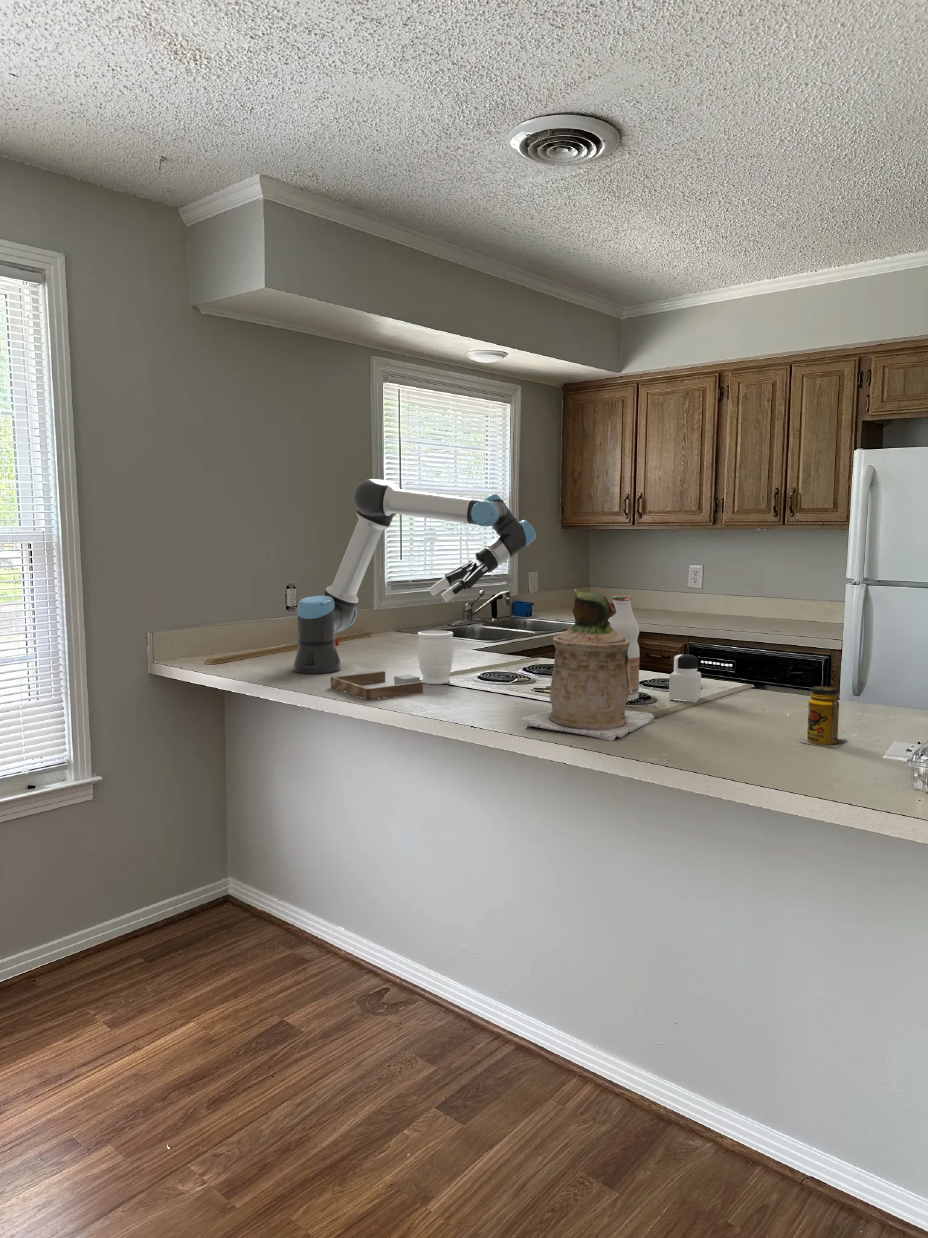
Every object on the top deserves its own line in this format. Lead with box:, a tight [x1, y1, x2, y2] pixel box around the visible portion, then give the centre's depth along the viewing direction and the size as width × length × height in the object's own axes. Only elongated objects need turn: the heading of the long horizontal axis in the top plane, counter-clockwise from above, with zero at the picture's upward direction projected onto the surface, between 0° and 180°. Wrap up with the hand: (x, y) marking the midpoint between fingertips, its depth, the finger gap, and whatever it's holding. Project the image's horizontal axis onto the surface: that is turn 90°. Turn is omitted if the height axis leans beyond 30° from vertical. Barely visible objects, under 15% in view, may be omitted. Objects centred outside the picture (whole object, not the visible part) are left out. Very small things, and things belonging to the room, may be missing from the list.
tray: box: [330, 670, 424, 701], centre depth 243 cm, size 22×18×3 cm
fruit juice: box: [608, 594, 640, 701], centre depth 226 cm, size 9×9×28 cm
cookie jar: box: [521, 588, 655, 741], centre depth 200 cm, size 25×25×32 cm
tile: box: [393, 674, 421, 685], centre depth 249 cm, size 6×5×3 cm
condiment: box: [800, 685, 849, 749], centre depth 184 cm, size 7×8×12 cm
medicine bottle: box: [668, 653, 702, 704], centre depth 228 cm, size 7×7×12 cm
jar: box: [417, 630, 454, 685], centre depth 254 cm, size 11×10×15 cm
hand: (436, 595), depth 261 cm, fingers open, 13 cm apart
